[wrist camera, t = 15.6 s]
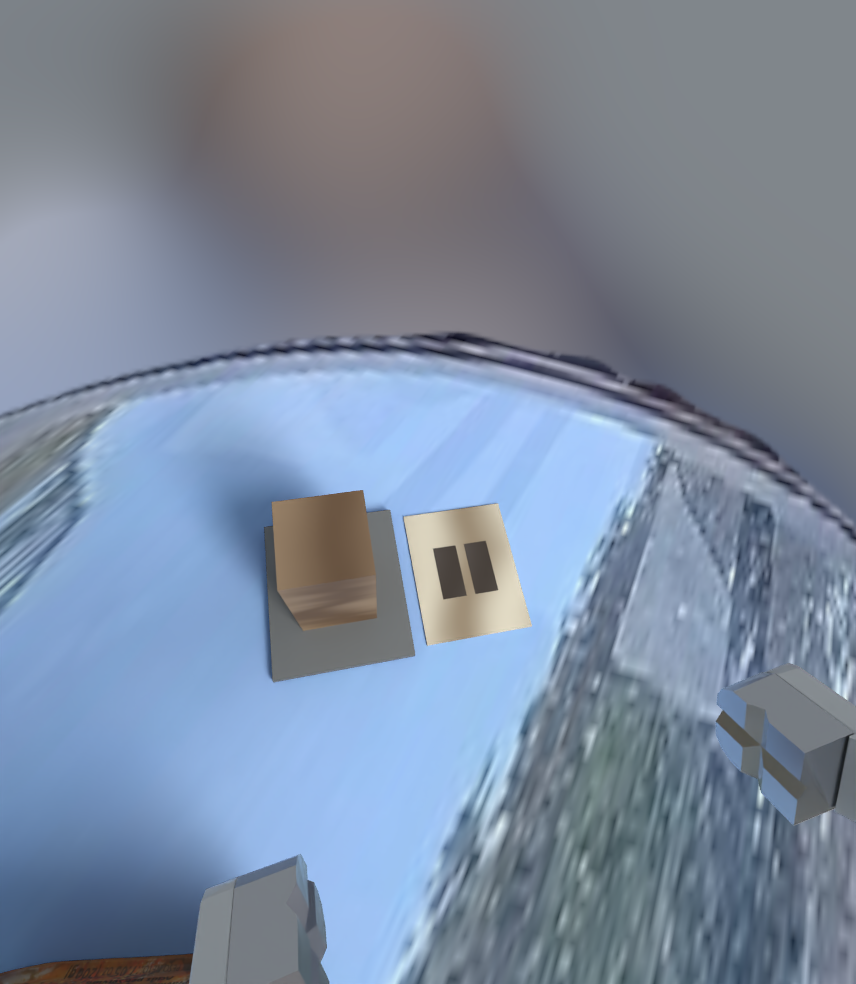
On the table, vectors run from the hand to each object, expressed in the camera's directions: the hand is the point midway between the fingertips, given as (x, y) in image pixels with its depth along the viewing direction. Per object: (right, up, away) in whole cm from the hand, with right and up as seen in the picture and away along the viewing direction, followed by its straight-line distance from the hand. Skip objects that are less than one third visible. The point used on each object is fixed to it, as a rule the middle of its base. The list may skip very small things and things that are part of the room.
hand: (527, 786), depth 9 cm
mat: (-8, -1, +24) cm, 25 cm away
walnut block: (-8, -1, +24) cm, 25 cm away
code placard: (+1, 0, +26) cm, 26 cm away
